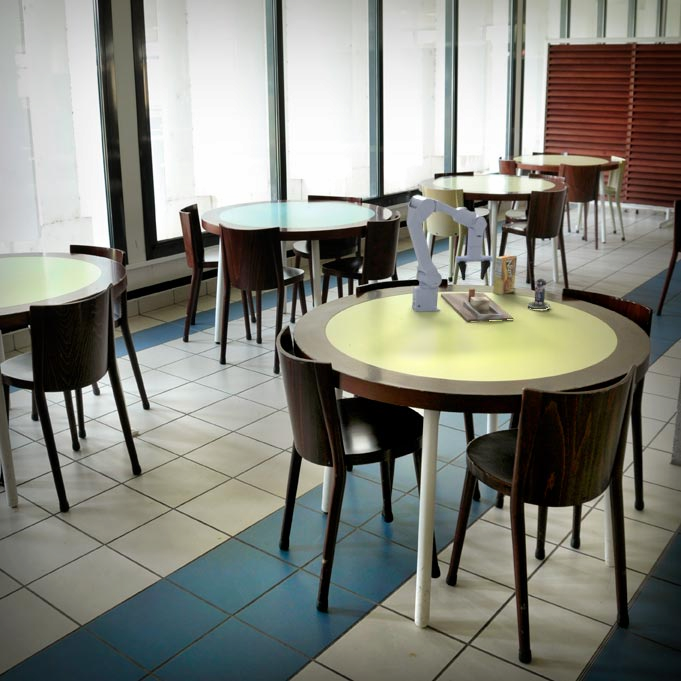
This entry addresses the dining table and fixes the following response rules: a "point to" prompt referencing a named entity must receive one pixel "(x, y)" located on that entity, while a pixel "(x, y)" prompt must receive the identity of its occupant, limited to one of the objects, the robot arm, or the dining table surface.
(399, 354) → the dining table surface
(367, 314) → the dining table surface
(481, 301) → the joystick
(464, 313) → the thin wooden panel
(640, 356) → the dining table surface
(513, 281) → the candy box
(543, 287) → the figurine
